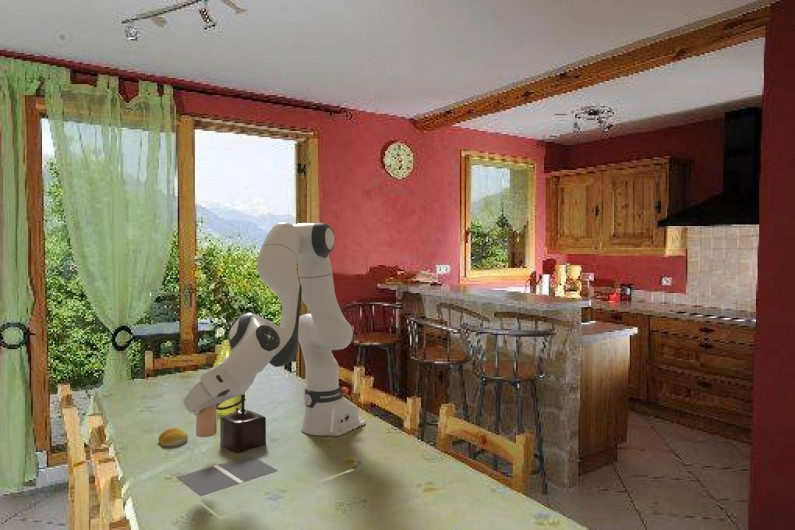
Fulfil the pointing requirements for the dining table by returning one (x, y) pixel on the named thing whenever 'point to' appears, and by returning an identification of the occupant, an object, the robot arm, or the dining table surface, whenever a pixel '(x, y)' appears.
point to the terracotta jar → (206, 422)
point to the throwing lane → (225, 475)
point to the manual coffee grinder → (242, 429)
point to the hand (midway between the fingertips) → (204, 409)
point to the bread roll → (173, 437)
